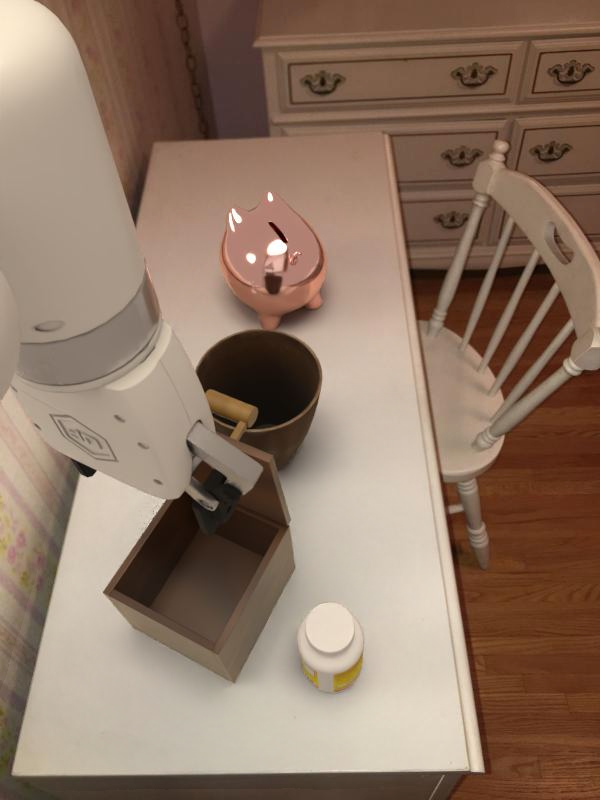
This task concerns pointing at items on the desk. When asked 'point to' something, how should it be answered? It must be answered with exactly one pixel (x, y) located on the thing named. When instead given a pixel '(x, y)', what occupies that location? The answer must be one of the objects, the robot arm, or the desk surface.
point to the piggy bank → (272, 259)
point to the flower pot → (266, 387)
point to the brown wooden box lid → (268, 486)
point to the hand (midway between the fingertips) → (157, 486)
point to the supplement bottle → (331, 647)
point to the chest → (204, 583)
